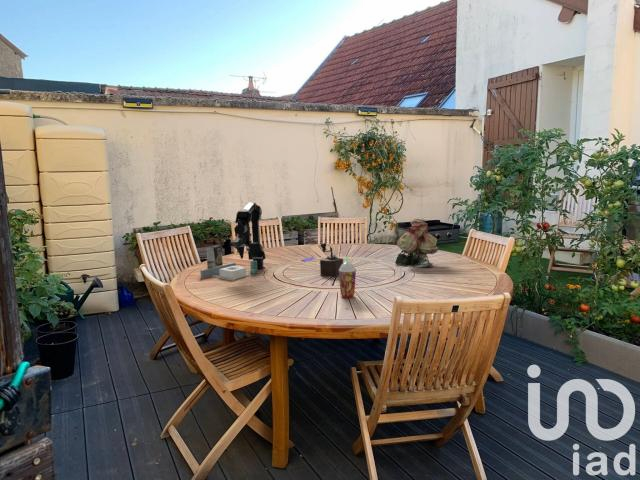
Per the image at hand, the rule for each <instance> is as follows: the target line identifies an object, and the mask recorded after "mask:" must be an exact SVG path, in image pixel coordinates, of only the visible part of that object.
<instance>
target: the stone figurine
mask: <svg viewBox="0 0 640 480" xmlns="http://www.w3.org/2000/svg"><path fill="white" fill-rule="evenodd" d="M426 221H427V220H426V219H424V218H422V219H420V218H414V219H412V220H410V221H409V224H411V226H409V227H407V230H408V232H405V233H403V234H402V235H401V236H400V237H398V239H397V240H396V244H395V245H396V246H397V247H398V248H399V249H400V250H401V251H400V253H398V254H397V256H396V260H395V266H396V267H403V268H405V267H409V268H418V269H419V268H424V267H430V268H434V267H435V266H434V265H433V264H434V262H430V260H429V256H428V254H429V255H435V254H437V253H438V251H439V248H438V246H437V243H438V239H437V237H435V236H434V235H432V234H431V233H428V231H429V227H428V223H427V222H426Z"/></svg>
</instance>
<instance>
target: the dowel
mask: <svg viewBox="0 0 640 480" xmlns="http://www.w3.org/2000/svg"><path fill="white" fill-rule="evenodd" d="M249 261H250V262H249V263H250V276H251V275H253V276H254V275H258V270H257V261H253V260H249Z"/></svg>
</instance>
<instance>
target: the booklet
mask: <svg viewBox="0 0 640 480" xmlns="http://www.w3.org/2000/svg"><path fill="white" fill-rule="evenodd" d="M315 259H317V258H316V257H309V258H308V257H307V258H303V259H301V261H303V262H309V261H312V260H315Z"/></svg>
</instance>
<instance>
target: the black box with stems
mask: <svg viewBox="0 0 640 480" xmlns="http://www.w3.org/2000/svg"><path fill="white" fill-rule="evenodd" d="M319 245H320V248H321V249H322V253H330V255H329V256H327V257H326V258H322V259H320V260H319V267H320V270H319V271H320V273H319V274H320V276H323V277H324V276H325V277H331V278H335V277H339V269H340V266H341V265H342V264H343V263H344V258H340V257H337V256H336V254H334V255H333V247H332V246H331V247H330V250H328V249H327V243H326V242H323V243H321V244H319Z"/></svg>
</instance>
